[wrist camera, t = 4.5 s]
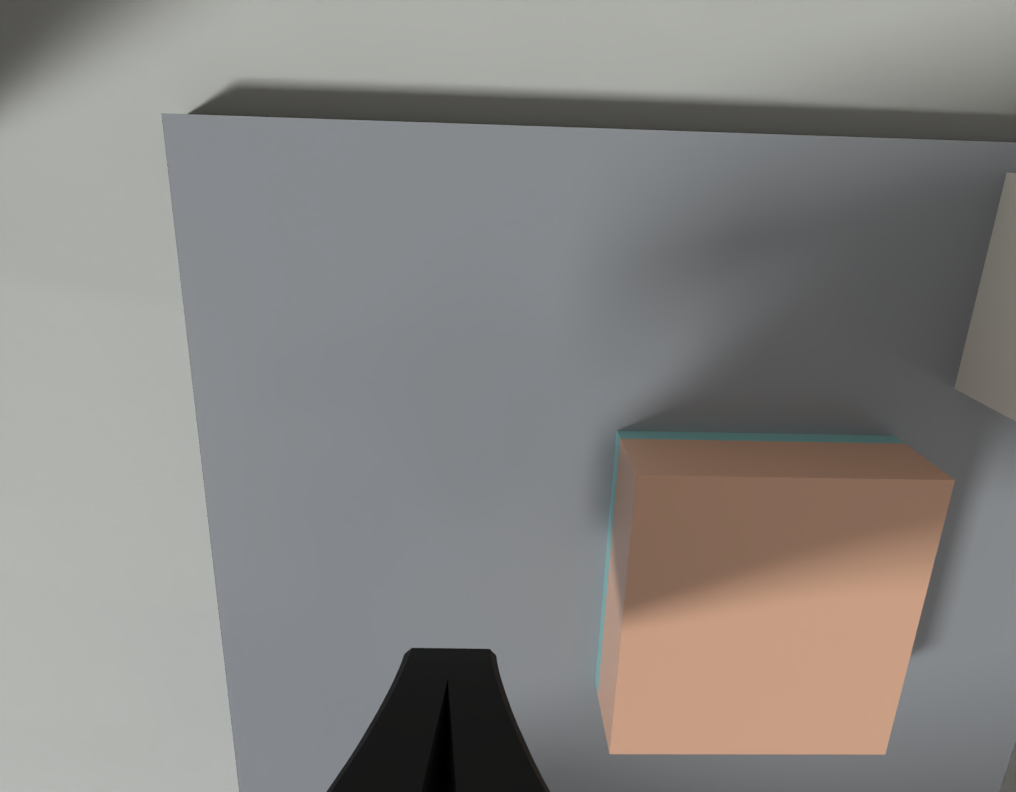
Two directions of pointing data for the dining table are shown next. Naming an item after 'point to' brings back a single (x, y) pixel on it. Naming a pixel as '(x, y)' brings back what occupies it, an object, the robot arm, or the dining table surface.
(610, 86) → the dining table surface
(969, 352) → the cream tile
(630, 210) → the slate board
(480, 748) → the robot arm
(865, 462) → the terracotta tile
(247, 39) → the dining table surface
